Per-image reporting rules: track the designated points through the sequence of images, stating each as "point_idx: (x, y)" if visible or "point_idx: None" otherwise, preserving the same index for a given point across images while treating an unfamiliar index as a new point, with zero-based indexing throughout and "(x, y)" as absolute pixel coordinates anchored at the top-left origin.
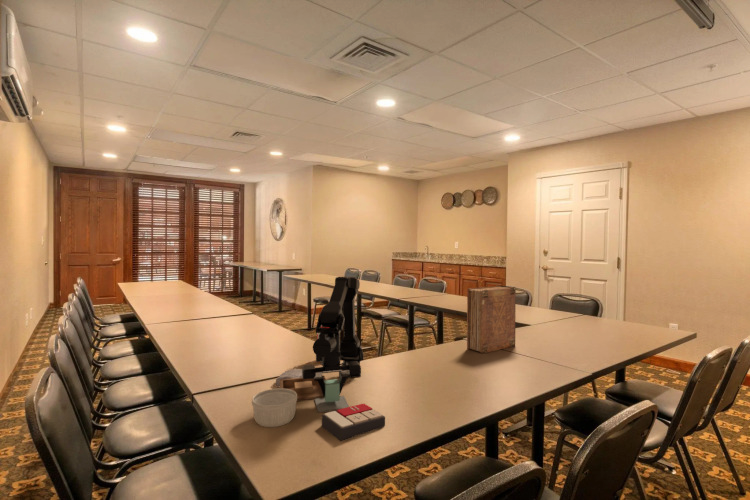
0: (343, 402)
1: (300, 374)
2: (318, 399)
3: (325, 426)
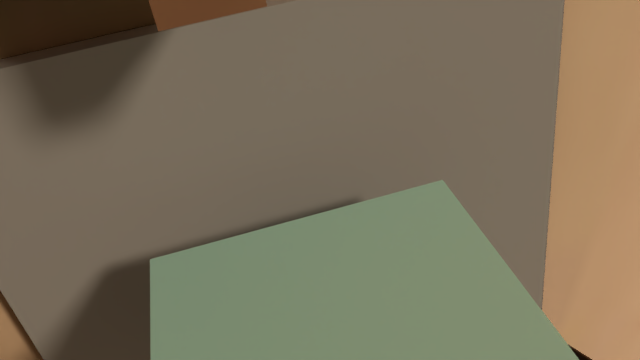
0: (494, 238)
1: None
2: (4, 134)
3: None
